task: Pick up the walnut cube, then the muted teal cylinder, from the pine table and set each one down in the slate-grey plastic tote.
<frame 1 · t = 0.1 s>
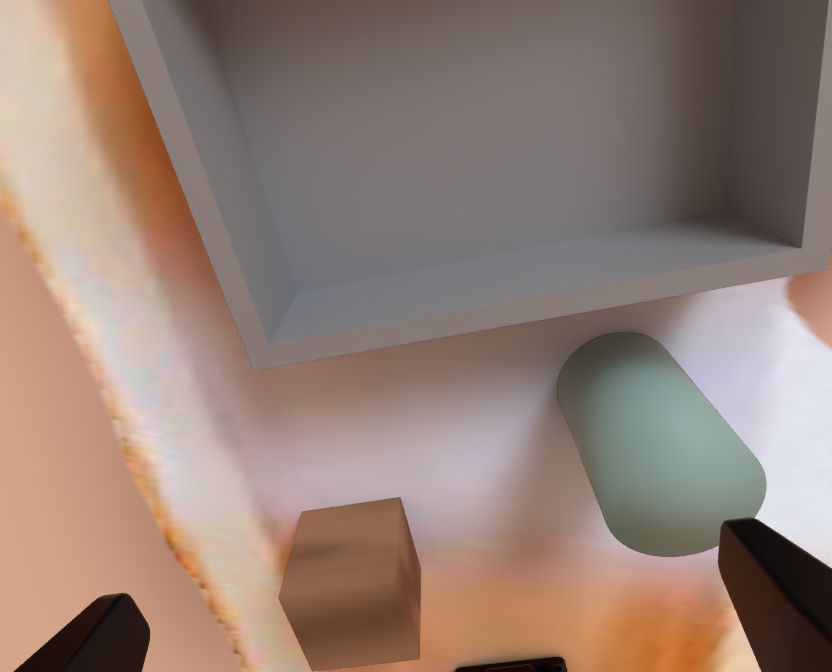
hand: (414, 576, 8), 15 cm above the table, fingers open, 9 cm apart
teal cylinder: (615, 384, 24), on the table
tote: (477, 78, 18), on the table
walnut cube: (363, 539, 28), on the table
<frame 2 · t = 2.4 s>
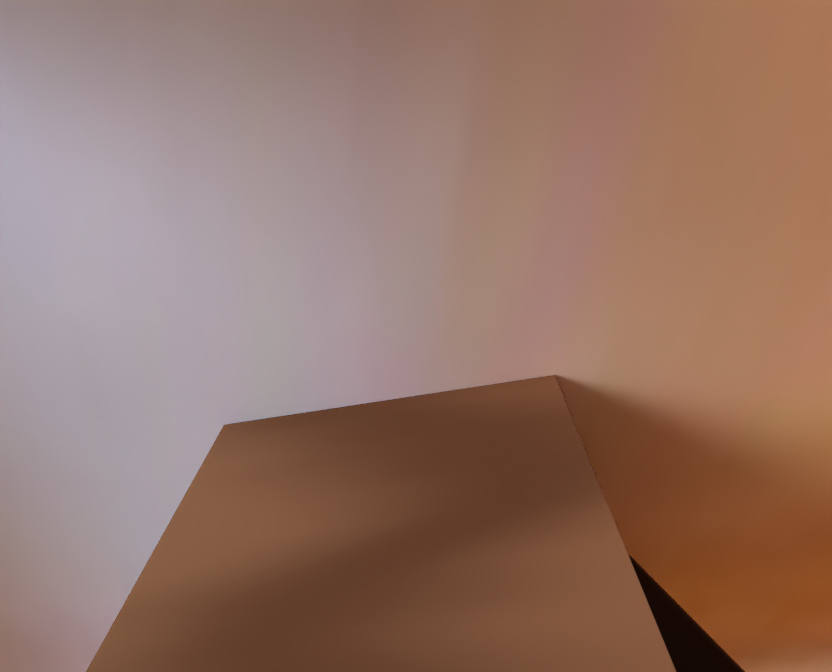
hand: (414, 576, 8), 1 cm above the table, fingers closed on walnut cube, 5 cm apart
walnut cube: (415, 524, 9), on the table, touching gripper
when the fingers open (3 cm above the table, at t = 7.2 s): walnut cube drops 1 cm, resting on tote.
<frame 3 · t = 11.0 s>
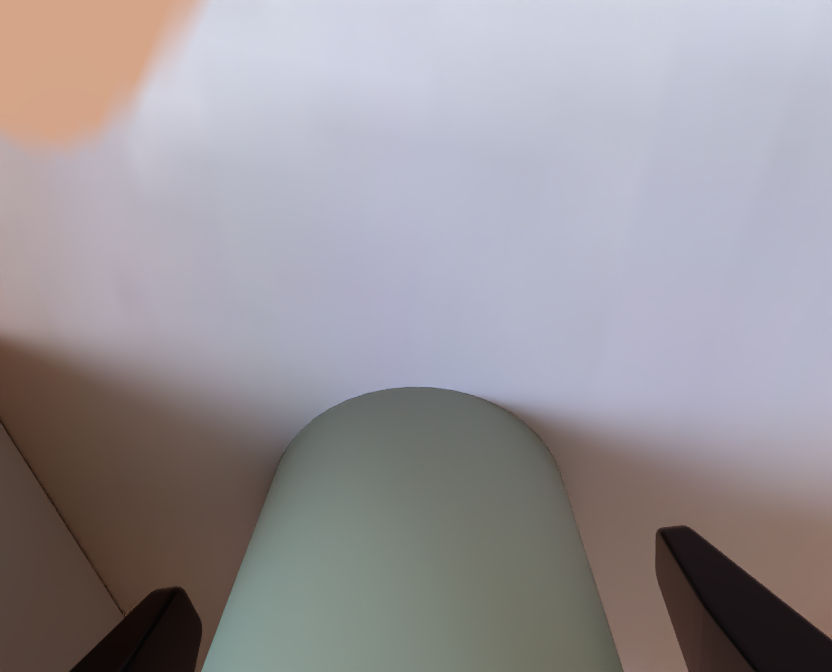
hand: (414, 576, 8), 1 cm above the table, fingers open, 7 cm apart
teal cylinder: (417, 510, 9), on the table
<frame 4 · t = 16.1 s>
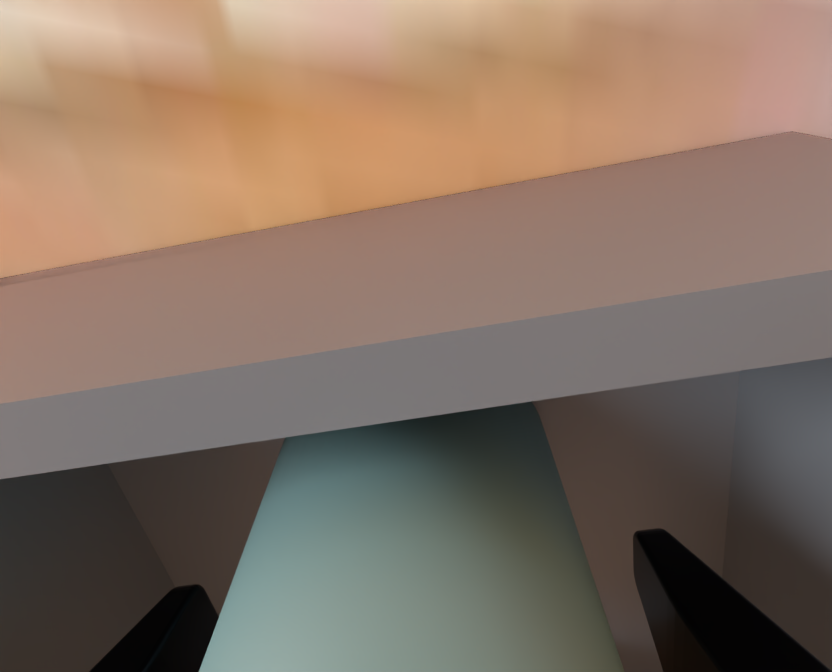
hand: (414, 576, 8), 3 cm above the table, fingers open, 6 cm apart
teal cylinder: (416, 459, 11), point 1 cm above the table, touching tote
tote: (447, 576, 13), on the table
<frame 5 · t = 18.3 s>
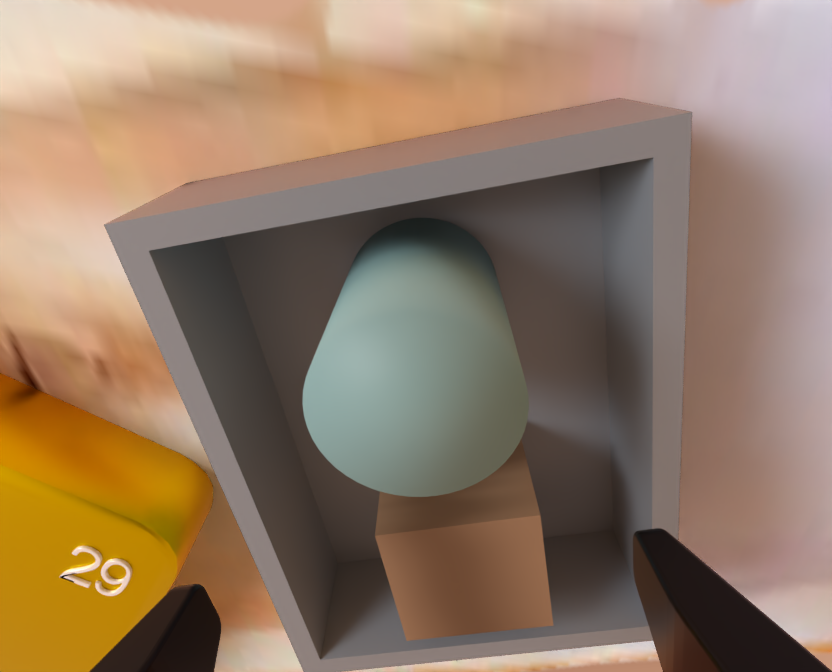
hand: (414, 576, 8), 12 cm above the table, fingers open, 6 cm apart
teal cylinder: (422, 291, 18), point 1 cm above the table, touching tote
element tile: (16, 507, 25), on the table
tote: (441, 383, 21), on the table
walnut cube: (460, 476, 22), point 1 cm above the table, touching tote
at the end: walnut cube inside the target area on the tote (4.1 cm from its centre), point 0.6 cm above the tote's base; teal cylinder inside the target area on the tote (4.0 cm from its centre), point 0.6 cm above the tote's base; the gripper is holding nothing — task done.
